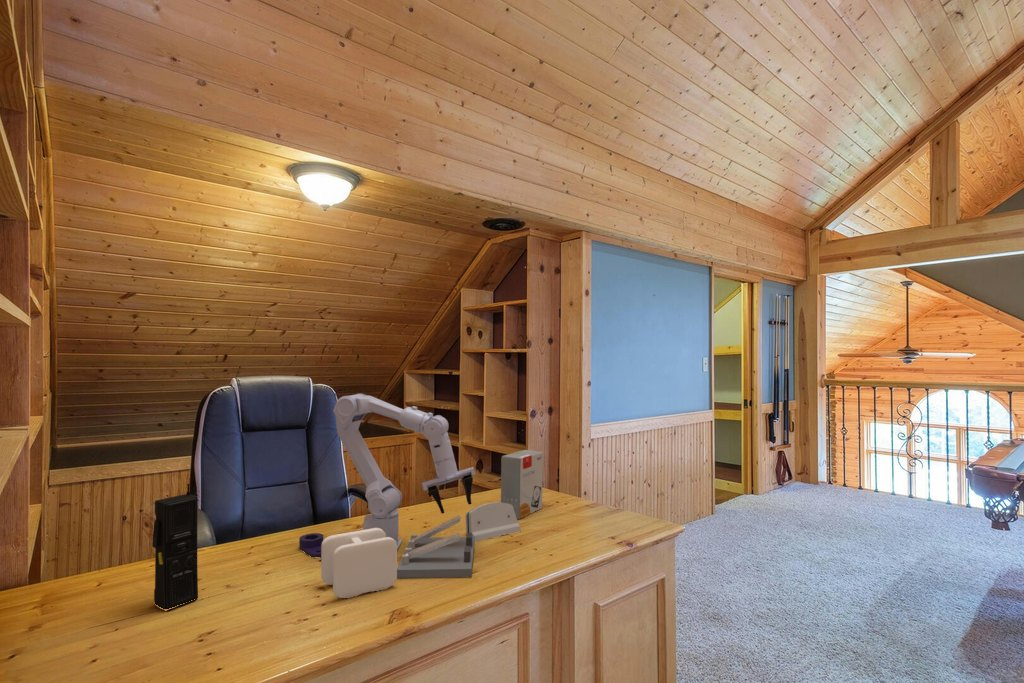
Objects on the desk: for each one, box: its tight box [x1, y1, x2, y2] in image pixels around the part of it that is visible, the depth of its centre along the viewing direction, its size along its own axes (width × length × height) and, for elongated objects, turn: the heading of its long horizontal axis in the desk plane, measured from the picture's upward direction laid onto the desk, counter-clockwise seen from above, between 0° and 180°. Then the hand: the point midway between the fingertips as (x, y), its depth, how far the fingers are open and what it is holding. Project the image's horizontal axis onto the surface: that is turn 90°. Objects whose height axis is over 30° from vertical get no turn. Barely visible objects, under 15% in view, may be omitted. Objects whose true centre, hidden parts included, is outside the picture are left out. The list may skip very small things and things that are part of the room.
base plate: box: [397, 533, 476, 579], centre depth 138 cm, size 18×22×5 cm
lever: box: [298, 532, 324, 558], centre depth 145 cm, size 12×6×3 cm, turn 35°
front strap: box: [405, 532, 461, 559], centre depth 133 cm, size 15×3×1 cm, turn 92°
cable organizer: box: [320, 528, 398, 599], centre depth 123 cm, size 15×11×12 cm
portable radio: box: [151, 483, 199, 609], centre depth 115 cm, size 8×6×25 cm
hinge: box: [465, 501, 522, 543], centre depth 159 cm, size 17×5×10 cm, turn 122°
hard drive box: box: [500, 449, 544, 520], centre depth 179 cm, size 16×8×20 cm, turn 147°
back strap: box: [410, 515, 461, 544], centre depth 143 cm, size 15×3×1 cm, turn 92°
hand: (456, 508), depth 144 cm, fingers open, 7 cm apart
